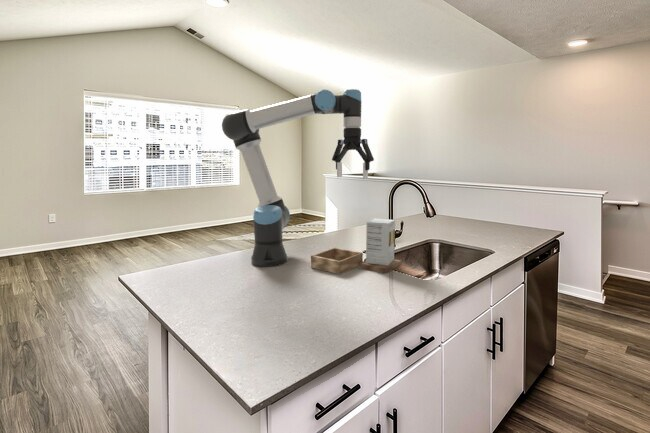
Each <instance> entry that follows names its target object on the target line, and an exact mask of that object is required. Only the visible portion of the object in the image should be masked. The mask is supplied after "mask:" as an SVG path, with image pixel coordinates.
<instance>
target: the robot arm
mask: <svg viewBox="0 0 650 433" xmlns="http://www.w3.org/2000/svg"><path fill="white" fill-rule="evenodd" d="M328 114H329V115H332V114H336V115H337V114H338V115H339V114H343V127H344V128H343V138H344V139H338V140H337V145H336V148H335V151H334V153H333V155H332V158H331V161H332V162H335V170H336V177H337V178H343V162H342V159H343V158H345V157H344V156H346V154H347V153H348V151H351V150H352V151H356V152H357V153H358V154H359V156H360V158H362V160H363V162H362V179H369V173H368V172H369V171H370V163H371V162H373V161H375V158H374V156H373V154H372V152H371V148H370V147H369V144H368V139H367V138H362V139H361V137H362V128H361V127H362V92H361V91H360V89H354V88H351V89H345V90H344V91H343V94H340V95H338V94H337V95H335V94H334V93H333V92H332V91H331V90H329V89H320V90H319V91H317V92H315V93H313V94H307V95H305V96H301V97H298V98H293V99H290V100H286V101H281V102H279V103H275V104H272V105H267V106H263V107H260V108H256V109H253V110H250V108H249V109H248V108H246V109H242V110H237V111H231V112H229V113H227V114H226V115H225V116H224V118H223V119H222V122H221V128H222V131H223V133H224V135H225V136H226V137H227V138H228V139H230V140H232V141H233V144H234V147H235V149H237V150H239V151H240V152H241V156H242V158H243V161H244V163H245V166H246V170H247V172H248V174H249V177H250V179H251V182H252V186H253V188H254V191H255V194H256V197H257V199H258V201H259V202H258V204H257V207H256V208H255V209H254V210H253V215H252V218H253V228H254V229H253V230H254V231H253V233H254V234H253V235H254V247H253V250H252V254H251V257H250V258H251V264H252V265H253V266H257V267H276V266H281V265H284V264H286V263H287V262H288V254H287V253H286V249H285V246H284V244H283V243H284V241H283V240H284V239H283V230H284V229H285V228H286V227H287V226H288V224H289V222H290V220H291V214H290V210H289V208H288V207H287V206H286V205H285V203H284V200H283V198H282V197H280V196H279V195H278V193H277V190H276V188H275V185H274V182H273V178H272V176H271V173H270V171H269V169H268V165H267V163H266V160H265V157H264V154H263V152H262V148H261V146H260V144H261V141H262V138H261V136H260V129H263V128H267V127H271V126H275V125H278V124H282V123H283V124H284V123H287V122H289V121H293V120H297V119H300V118H305V117H308V116H313V115H328Z"/></svg>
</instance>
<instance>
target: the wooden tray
mask: <svg viewBox="0 0 650 433" xmlns="http://www.w3.org/2000/svg"><path fill="white" fill-rule="evenodd" d="M363 255H364V254H363V252H361V251H354V250H349V249H345V248H340V247H333V248H331V249H330V248H329V249H327V250H324V251H321V252H318V253H315V254H312V255H310V268H313V269H317V270H320V271H324V272H329V273H332V274H338V275H342V274H344V273H347V272H349V271H351V270H353V269H356V268H359V263H361V262H363V261H364V260H363V258H364V256H363Z"/></svg>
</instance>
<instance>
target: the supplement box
mask: <svg viewBox="0 0 650 433" xmlns="http://www.w3.org/2000/svg"><path fill="white" fill-rule="evenodd" d="M395 222H396V220H395V219H388V218H385V219H384V218H372V219H371V220H368V221H366V224H365V225H366V226H365V227H366V228H365V229H366V235H365V236H366V239H365V240H366V241H365V243H366V244H365V246H366V247H365V249H366V250H365V251H366V252H365V253H366V254H365V256H366V257H365V258H366V259H365V260H366V263H371V264H379V265H386V266H388V265H389V264H390V263H391V262H392V261H393V260H394V259H395V227H396V223H395Z"/></svg>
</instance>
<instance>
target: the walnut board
mask: <svg viewBox="0 0 650 433" xmlns="http://www.w3.org/2000/svg"><path fill="white" fill-rule="evenodd" d="M402 262H403V261H402V259H401V260H399V259H395V258H394V260H393V261H392V262H391V263H390V264H389V265H388V266H386V265H379V264H371V263H366V259H365V260H363V262H361V263H359V266H358V268H359V269H362V270H368V271H372V272H378V273H381V274H388V273H390V272H392V271H394V270H396V269H397V268H399V267H401V266H403V265H402Z"/></svg>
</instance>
